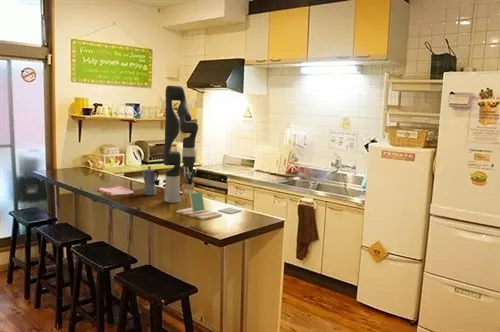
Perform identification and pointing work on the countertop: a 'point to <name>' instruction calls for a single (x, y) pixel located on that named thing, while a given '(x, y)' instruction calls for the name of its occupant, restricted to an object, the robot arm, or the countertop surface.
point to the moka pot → (150, 181)
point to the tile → (196, 202)
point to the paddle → (187, 187)
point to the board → (199, 214)
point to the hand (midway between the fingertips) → (188, 184)
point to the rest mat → (230, 210)
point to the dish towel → (115, 190)
